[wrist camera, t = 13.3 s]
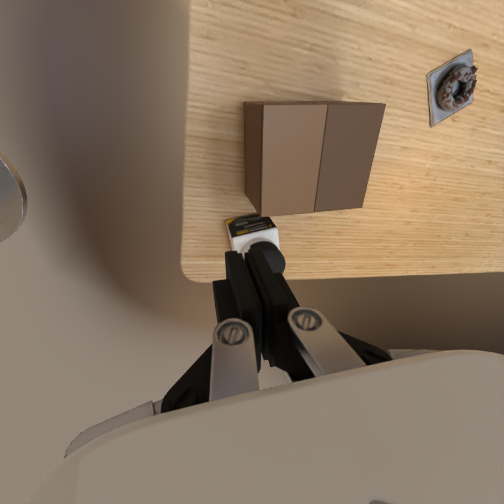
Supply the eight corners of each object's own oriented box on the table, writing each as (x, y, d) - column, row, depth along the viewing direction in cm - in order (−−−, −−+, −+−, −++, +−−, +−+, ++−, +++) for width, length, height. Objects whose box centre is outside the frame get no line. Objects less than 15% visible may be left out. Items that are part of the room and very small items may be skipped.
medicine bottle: (265, 210, 46) (289, 243, 36) (269, 245, 49) (292, 283, 39) (225, 219, 45) (238, 256, 35) (232, 254, 49) (246, 296, 39)
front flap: (260, 216, 35) (261, 217, 35) (262, 104, 28) (263, 105, 28) (312, 211, 36) (313, 212, 36) (326, 104, 30) (327, 104, 29)
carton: (244, 192, 43) (260, 217, 35) (243, 101, 36) (262, 104, 28) (328, 186, 46) (362, 208, 38) (341, 101, 39) (386, 103, 31)
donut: (472, 103, 44) (484, 103, 43) (430, 127, 45) (440, 128, 43) (473, 46, 40) (486, 44, 38) (426, 74, 40) (437, 73, 38)
